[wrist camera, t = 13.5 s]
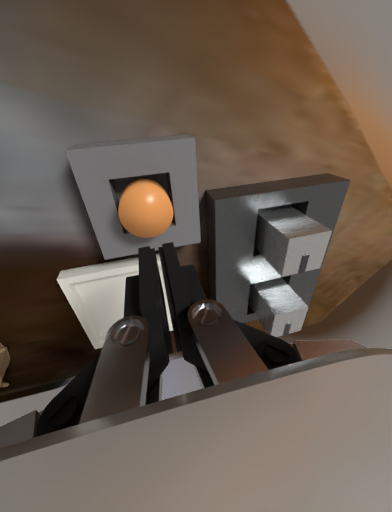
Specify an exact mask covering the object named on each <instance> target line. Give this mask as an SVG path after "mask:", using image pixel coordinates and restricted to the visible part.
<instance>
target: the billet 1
mask: <svg viewBox="0 0 392 512" xmlns="http://www.w3.org/2000/svg"><path fill="white" fill-rule="evenodd" d="M331 233H332V230H330V229H329V228H327V227H325V226H323V225H322V224H320V223H318V222H317V221H315V220H313V219H311V218H310V217H308V216H306V215H305V214H303V213H301V212H300V211H298V210H296V209H294V208H293V207H291V206H289V205H288V204H287V205H281V206H275V207H269V208H263V209H258V213H257V223H256V232H255V242H254V247H255V248H256V249H257V250H258V251H259V253H260V254H261V255H262V256H263V257H264V258H265V259H266V260H267V261H268V262H269V263H270V265H271V266H272V267H273V268H274V269H275V270H276V271H277V272H278V273H279V274H280V275H281V277H284V276H288V275H292V274H297V273H299V274H300V273H305V272H306V271H310V270H315V269H319V268H320V267H321V264H322V261H323V258H324V254H325V251H326V248H327V245H328V242H329V239H330V236H331Z"/></svg>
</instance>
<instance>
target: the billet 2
mask: <svg viewBox="0 0 392 512" xmlns="http://www.w3.org/2000/svg"><path fill="white" fill-rule="evenodd" d="M248 304H249V305H250V307H251V309H252V310H253V312H254V313H255V315H256V317H257V318H258V320H259V322H260V323H261V325H262V326H263V328H264V330H265V331H266V333H267V334H270V335H272V336H274V337H278V336H282V335H284V336H285V335H288V334H289V333H292V332H296V331H300V330H301V328H302V325H303V322H304V319H305V316H306V313H307V310H308V306H307V305H306V304H305V303H304V302H303V300H302V299H301V298H300V297H299V296H298V295H297V294H296V293H295V292H294V291H293V290H292V288H291V287H290V286H289V285H288V284H287V283H286V282H285V281H284V280H283V279H282V277H281V278H276V279H272V280H267V281H263V282H258V283H254V284H250V289H249V299H248Z"/></svg>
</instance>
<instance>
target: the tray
mask: <svg viewBox="0 0 392 512" xmlns="http://www.w3.org/2000/svg"><path fill="white" fill-rule="evenodd" d="M156 258H157V263H158V268H159V273H160V278H161V283H162V288H163V293H164V299H165V305H166V311H167V318H168V324H169V330H170V331H172V330H173V327H172V322H171V317H170V311H169V306H168V301H167V295H166V289H165V284H164V278H163V272H162V267H161V261H160V255H159V253H156ZM135 275H139V260H138V257H134V258H128V259H123V260H117V261H112V262H106V263H101V264H95V265H90V266H84V267H79V268H73V269H68V270H63V271H60V274H59V276H58V278H57V281H58V283H59V285H60V287H61V289H62V290H63V292H64V294H65V296H66V298H67V300H68V301H69V303H70V305H71V307H72V309H73V310H74V312H75V314H76V316H77V318H78V319H79V321H80V323H81V325H82V327H83V328H84V330H85V332H86V334H87V336H88V338H89V339H90V341H91V343H92V345H93V347H94V348H95V349H98V348H102V347H103V344H104V341H105V338H106V334H107V332H108V330H109V328H110V327H111V326H112V325H113V324H114V323H115V322H117V321H118V320H120V319H122V318H123V317H124V300H125V283H126V277H129V276H135Z"/></svg>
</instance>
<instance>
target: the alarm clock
mask: <svg viewBox="0 0 392 512" xmlns="http://www.w3.org/2000/svg"><path fill="white" fill-rule="evenodd" d="M9 361H10V356H9V353H8V350H7V347H4V346H3V345H2V344H1V343H0V387H7V386H8V385H9V383H7V382H4V381H2V379H3V377H4V374H5V372H6V369H7V368H8V365H9Z"/></svg>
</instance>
